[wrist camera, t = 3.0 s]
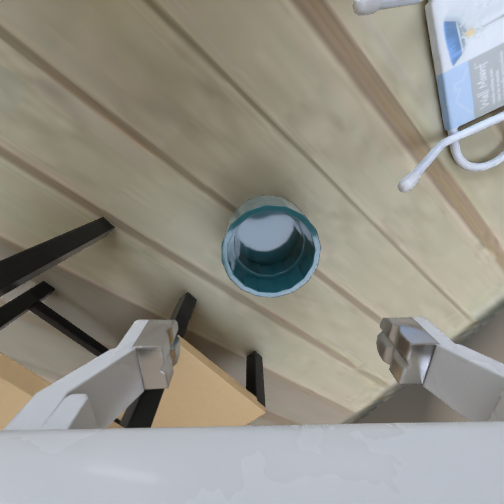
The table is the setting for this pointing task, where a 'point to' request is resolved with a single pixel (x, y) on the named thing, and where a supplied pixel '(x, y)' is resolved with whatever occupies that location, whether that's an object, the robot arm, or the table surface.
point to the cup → (270, 247)
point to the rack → (147, 403)
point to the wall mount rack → (460, 70)
